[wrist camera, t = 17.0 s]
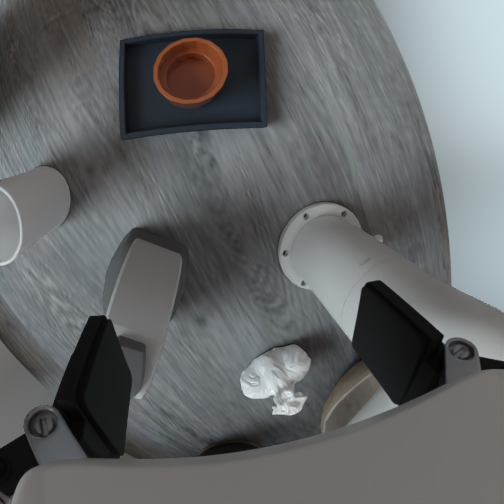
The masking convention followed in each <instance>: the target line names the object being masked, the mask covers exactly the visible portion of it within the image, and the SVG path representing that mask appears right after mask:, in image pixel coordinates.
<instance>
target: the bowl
mask: <svg viewBox="0 0 504 504" xmlns="http://www.w3.org/2000/svg"><path fill="white" fill-rule="evenodd" d="M380 387H381V385H380V384H379V383H378V381H377V380H376V378H375V377H374V376H373V374H372V373H371V372H370V370H369V369H368V367H367V366H366V365H365V363H364V362H363V361H362V360H361V361H360V362H358V363H357V364H355V365H354V366H353V367H351V368H350V369H349V370H348V371H347V372H346V373H345V374H344V375H343V376H342V377H341V378H340V379H339V381H338V382H337V384H336V385H335V387H334V388H333V389H332V391H331V392H330V394H329V396H328V398H327V401H326V403H325V405H324V407H323V410H322V416H321V419H320V420H321V423H320V426H321V431H322V433H325V432H329V431H332V430H335V429H338V428H342V427H345V426H346V425H347V424H348V423H349V421H350V420H351V419H352V418H353V417H354V416H355V415H356V414H357V412H358V411H359V410H360V409H361V408H362V407H363V406H364V405H365V404H366V403H367V402H368V400H369V399H370V398H371V397H372V396H373V395H374V394H375V393H376V391H377V390H378V389H379V388H380Z"/></svg>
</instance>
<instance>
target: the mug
mask: <svg viewBox="0 0 504 504" xmlns="http://www.w3.org/2000/svg"><path fill="white" fill-rule="evenodd" d="M70 202H71V198H70V190H69V187H68V184H67V182H66V180H65V178H64V177H63V176H62V175H61V173H60V172H58V171H57V170H56V169H54V168H51V167H48V166H41V167H37V168H35V169H33V170H31V171H29V172H26V173H22V174H19V175H15V176H12V177H9V178H5V179H2V180H0V265H6V264H9V263H11V262H12V261H13V260H15V259H16V258H17V257H18V256H19V255H20V254H22V253H23V252H24V251H25V250H26V249H28V248H29V247H30V246H31V245H33V244H34V243H35V242H36V241H38V240H39V239H40V238H41V237H43V236H44V235H45V234H47V233H48V232H49V231H51V230H54V229H56V228H58V227H59V226H60V225H61V224H62V223H63V222H64V221H65V219H66V217H67V215H68V213H69V209H70Z"/></svg>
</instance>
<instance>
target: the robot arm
mask: <svg viewBox="0 0 504 504" xmlns="http://www.w3.org/2000/svg"><path fill="white" fill-rule="evenodd" d="M305 213H306V215H305V216H304V214H305ZM382 242H383V238H382V236H381V235H372V236H371V235H369V234H368V233H366V232H364V231H363V230H362V229H361V226H360V223H359V221H358V219H357V218H356V217H355V215H354V214H353V213H352V212H351V211H349V210H348V209H347V208H345V207H343V206H341V205H338V204H336V203H331V202H319V203H315V204H311V205H309V206H307V207H305V208H303V209H302V210H300V211H299V212H297V213H296V214H295V215H294V216H293V217H292V218H291V219H290V220H289V222H288V223H287V225H286V226H285V228H284V230H283V232H282V234H281V236H280V240H279V245H278V258H279V263H280V265H281V268H282V270H283V272H284V273H285V275H286V276H287V277H288V279H289V280H290V281H291V282H293V283H294V284H295V285H297V286H299V287H301V288H304V289H308V290H312V291H313V292H314V294H315V295H316V296H317V297H318V299H319V300H320V301H321V303H322V304H323V305H324V307H325V308H326V309H327V311H328V312H329V313H330V314H331V316H332V317H333V318H334V320H335V321H336V322H337V324H338V325H339V326H340V328H341V329H342V330H343V332H344V333H345V334H346V336H347V337H348V338H349V339H350V341H351V342H352V346H353V348H354V350H355V351H356V352H357V354H358V355H359V357H360V358H361V359H362V361H363V362H364V363H365V365H366V366H367V367H368V369H369V370H370V372H371V373H372V374H373V376H374V377H375V378H376V380H377V381H378V383H379V384H380V385H381V387H380V388H379V389H378V390H377V391H376V393H375V394H374V395H373V396H372V397H371V398H370V399H369V400H368V402H367V403H366V404H365V405H364V406H363V407H362V408H361V409H360V410H359V411H358V412H357V414H356V415H355V416H354V417H353V418H352V419H351V420H350V421H349V423H348V424H347V425H346V426H345V427H342V428H338V429H335V430H332V431H329V432H325V433H322V434H319V435H315V436H311V437H308V438H304V439H300V440H296V441H292V442H287V443H283V444H279V445H274V446H269V447H264V448H258V449H253V450H247V451H241V452H234V453H227V454H219V455H210V456H200V457H187V458H167V459H120V455H124V450H125V438H126V428H127V419H128V410H129V402H130V395H131V388H132V374H131V371H130V369H129V366H128V364H127V361H126V359H125V356H124V354H123V351H122V348H121V346H120V343H119V340H118V337H117V334H116V331H115V328H114V325H113V323H112V320H111V319H107V317H106V316H105V315H101V316H90V317H89V319H88V321H87V323H86V325H85V328H84V330H83V332H82V334H81V337H80V339H79V341H78V343H77V346H76V348H75V351H74V353H73V354H72V356H71V358H70V360H69V363H68V365H67V368H66V370H65V373H64V376H63V378H62V381H61V384H60V386H59V389H58V392H57V395H56V397H55V400H54V403H53V406H49V405H41V406H38V407H35V408H34V409H33V410H31V411H30V412H29V413H28V414H27V416H26V418H25V420H24V431H25V434H23V435H22V436H20V437H18V438H17V439H15V440H14V441H12V442H10V443H9V444H7V445H6V446H4V447H2V448H0V504H504V313H503V312H502V311H500V310H498V309H497V308H495V307H493V306H491V305H489V304H486V303H484V302H482V301H480V300H478V299H476V298H474V297H472V296H469V295H467V294H465V293H463V292H461V291H459V290H457V289H455V288H453V287H452V286H450V285H448V284H446V283H444V282H443V281H441V280H440V279H438V278H436V277H435V276H433V275H431V274H430V273H428V272H427V271H425V270H423V269H422V268H420V267H419V266H417V265H416V264H414V263H413V262H411V261H410V260H408V259H406V258H405V257H403V256H402V255H400V254H399V253H397V252H396V251H394V250H392V249H391V248H389V247H388V246H386V245H384V244H383V243H382ZM284 251H285V252H284ZM283 252H284V253H283Z"/></svg>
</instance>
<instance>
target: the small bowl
mask: <svg viewBox="0 0 504 504" xmlns="http://www.w3.org/2000/svg"><path fill="white" fill-rule="evenodd" d="M227 75H228V61H227V59H226V57H225V55H224V53H223V51H222V50H221V49H220V48H219V47H218V46H216V45H215V44H214V43H213V42H211V41H208V40H205V39H201V38H184V39H181V40H178V41H176V42H174V43H172V44H170V45H168V46H167V47H166V48H165V49H164V50H163V51H162V52H161V53H160V54H159V56H158V58H157V60H156V62H155V64H154V67H153V78H154V82H155V84H156V86H157V88H158V90H159V92H160V93H161V95H162V96H163V98H164V99H165V100H167V101H168V102H169V103H170V104H172V105H173V106H176V107H179V108H183V109H193V108H199V107H201V106H204V105H206V104H208V103H210V102H211V101H212V100H213V99H214V98H215V97H216V96H217V95H218V94H219V92H220V91H221V89H222V87H223V85H224V82H225V80H226V78H227Z"/></svg>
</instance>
